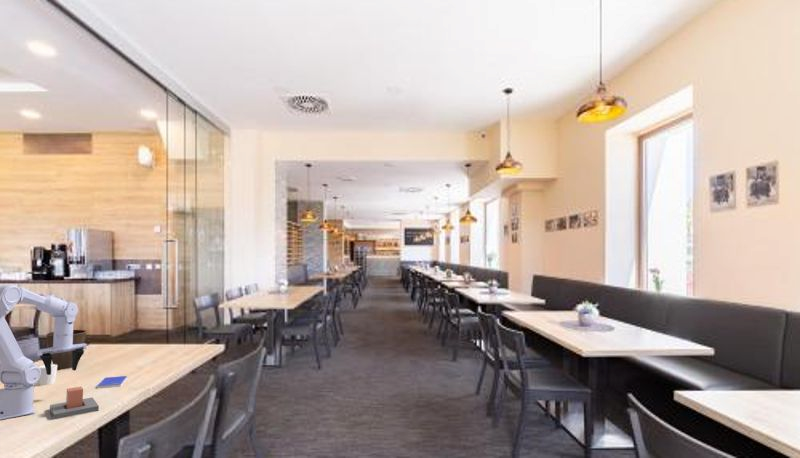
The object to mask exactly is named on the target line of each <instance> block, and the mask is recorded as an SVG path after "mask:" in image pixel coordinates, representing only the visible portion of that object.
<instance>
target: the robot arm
mask: <svg viewBox="0 0 800 458" xmlns="http://www.w3.org/2000/svg"><path fill="white" fill-rule="evenodd" d="M55 296H56V295H55V294H53V293H48V294H42V295H40V294H38V293H35V292H33V291H31V290H30V289H29V290H28V289H27V288H24V287H23V286H18V285H16V284H9V285H8V284H5V285H4V284H0V362H1V364H0V383H1V384H3V388H0V421H1V420H5V419H11V418H16V417H21V416H22V417H23V416H27V415H33V414H36V411H35V408H34V393H35V392H34V390H35V385H37V381H38V380H39V378H40V376H41V370H40V368H39V367H38V366H39V365H36V364H35V363H34V361H33V360H32V359H30V358H28V357H26V356H25V355H24V353H23V352H22V349H21V347H20V345H19V344H18V343H19V342H17V340H16V338H15V336H14V334H13V332H12V330H11V328H10V325H9V324H8V322H7V320H6V318H5V317H6V315H8V314H9V313H10V312H11V311H12V309H13V308H14V307H15V306H16V305H17V304H18V302H24V303H27V304H30V305H33V306H35V307H36V309H37V310H38V311H41V312H44V313H47V314H50V315H51V317H53V318H54V321H53V332H54V338H53V347H50V348H48V347H46V348H40V349H37V351H36V352H37V353H36V355H37V356H38V357H40V359H41V360H42V362H43V365H45V368H46V373H47V375H51V364H52V363H53V362H52V356H51V355H50V354H53V353H60V352H67V351H72V359H73V360H72V368H71V371H77V367H78V365H79V362H80V360H81V357H82V356H83V355H84V353H85V350H87V345H88V344H87V343H85V342H84V344H73V330H74V324H75V323H74V322H75V321H76V316H77V314H78V313H79V308H78V305H77V304H76V303H75V302H73V301H66V300H65V298H58V297H55ZM61 350H62V351H61Z"/></svg>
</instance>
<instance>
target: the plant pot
mask: <svg viewBox="0 0 800 458" xmlns="http://www.w3.org/2000/svg"><path fill="white" fill-rule="evenodd" d="M87 332H88V331H87V330H85V329H73V344H84V343H85V341H86V336H87ZM53 338H54V331H51V332H47V333H46V342H47V348H50V347H53ZM61 351H62V350H61ZM50 355H51V356H52V362H51V363H52V364H57V370H66V369H72V360H73V359H72V351H67V352H60V353H53V354H50Z"/></svg>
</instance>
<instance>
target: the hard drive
mask: <svg viewBox="0 0 800 458" xmlns="http://www.w3.org/2000/svg"><path fill="white" fill-rule="evenodd" d="M127 378H128V376H127V375H123V376H122V375H121V376H111V377H110V376H109V377H108V376H107V377H104V378H103V379H102V380H101V381H100V382H99V384H97V385H96V389H105V388H117V387H118V388H119V387H121V386H122V385H123V384H124V383H125V381H126V380H127Z"/></svg>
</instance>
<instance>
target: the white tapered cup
mask: <svg viewBox="0 0 800 458" xmlns="http://www.w3.org/2000/svg"><path fill="white" fill-rule="evenodd" d="M37 366H38V367H39V368H40V370H41V376H40V378H39V380H38V381H37V382H36V385H38V386H47V385H52V384H55V383H56V377H57V371H58V369H57V364H53V363H51V375H47V373H46V368H45V365H44V364H42V365H37Z"/></svg>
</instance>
